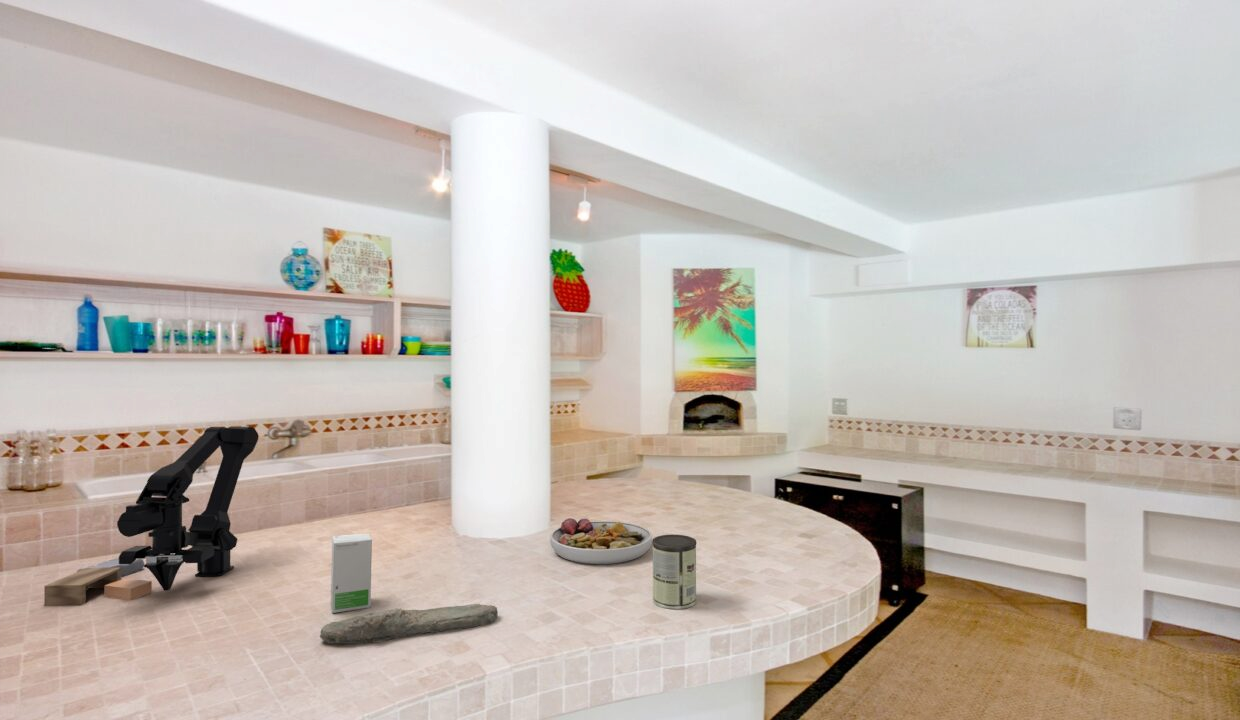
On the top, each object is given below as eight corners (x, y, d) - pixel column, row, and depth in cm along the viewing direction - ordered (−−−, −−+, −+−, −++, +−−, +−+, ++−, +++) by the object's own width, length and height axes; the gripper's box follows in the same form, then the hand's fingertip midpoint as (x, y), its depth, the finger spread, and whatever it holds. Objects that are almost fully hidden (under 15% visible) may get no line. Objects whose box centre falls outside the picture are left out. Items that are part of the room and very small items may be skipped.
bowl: (670, 546, 186) (670, 520, 186) (616, 575, 161) (616, 545, 161) (589, 531, 202) (589, 507, 202) (528, 556, 177) (528, 528, 177)
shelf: (121, 585, 152) (121, 567, 152) (81, 604, 140) (81, 585, 140) (87, 586, 152) (87, 567, 152) (44, 605, 140) (44, 585, 140)
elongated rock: (500, 635, 129) (494, 619, 138) (502, 609, 129) (495, 595, 139) (316, 651, 117) (322, 632, 127) (318, 623, 118) (324, 606, 127)
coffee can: (658, 590, 150) (658, 532, 150) (700, 595, 146) (700, 536, 146) (646, 606, 140) (646, 544, 140) (691, 612, 137) (691, 549, 137)
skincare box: (331, 614, 135) (331, 543, 135) (330, 603, 141) (330, 536, 141) (372, 607, 139) (372, 538, 139) (369, 597, 145) (369, 531, 145)
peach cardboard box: (151, 593, 148) (151, 581, 148) (130, 601, 143) (130, 588, 143) (126, 590, 150) (126, 578, 150) (104, 598, 145) (104, 585, 145)
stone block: (70, 590, 154) (102, 584, 153) (68, 570, 155) (100, 565, 153) (117, 575, 166) (148, 570, 164) (115, 557, 166) (145, 552, 165)
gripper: (227, 515, 155) (227, 577, 155) (150, 516, 154) (150, 578, 154) (199, 527, 144) (199, 594, 144) (116, 529, 143) (116, 595, 143)
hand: (167, 590), depth 147 cm, fingers closed
